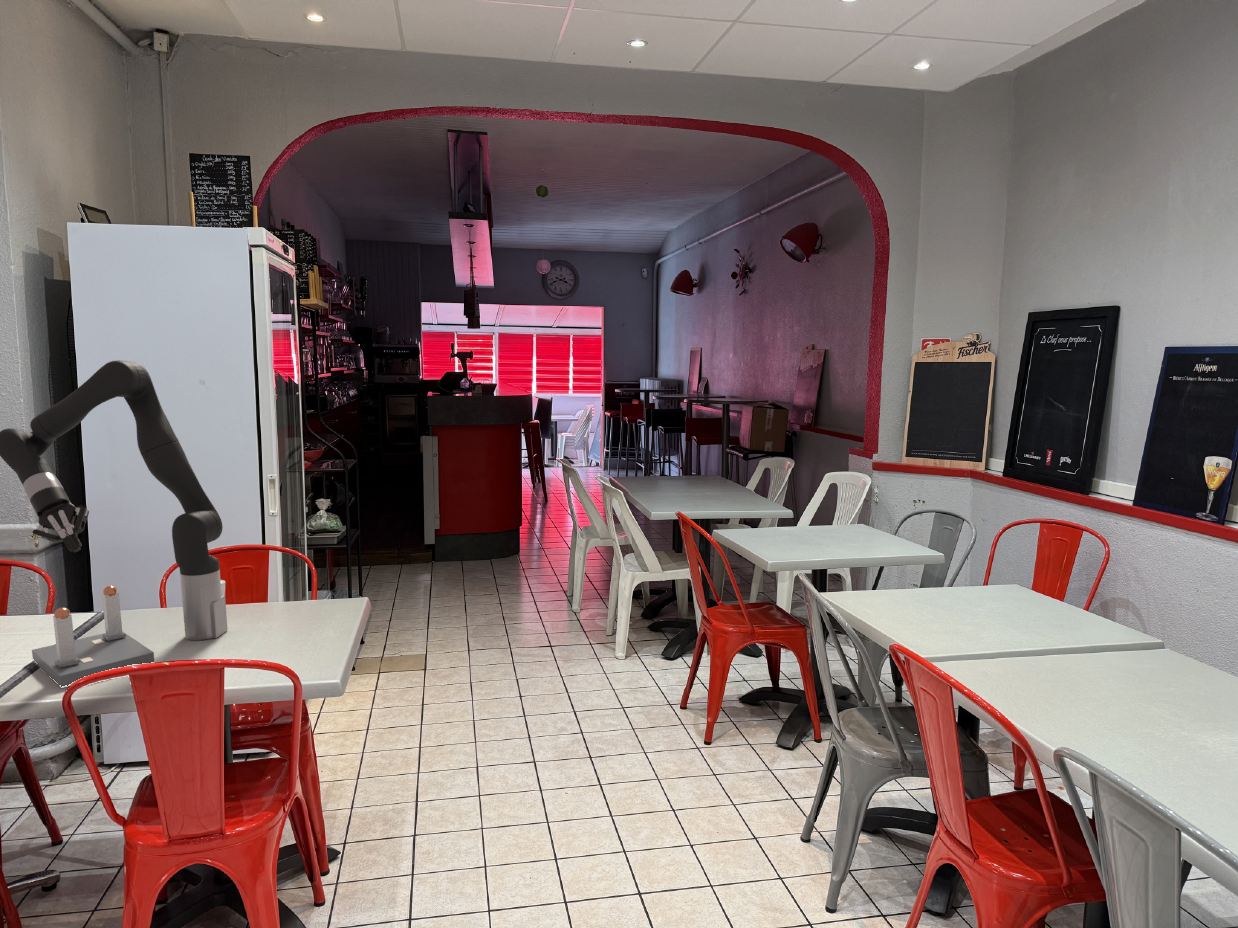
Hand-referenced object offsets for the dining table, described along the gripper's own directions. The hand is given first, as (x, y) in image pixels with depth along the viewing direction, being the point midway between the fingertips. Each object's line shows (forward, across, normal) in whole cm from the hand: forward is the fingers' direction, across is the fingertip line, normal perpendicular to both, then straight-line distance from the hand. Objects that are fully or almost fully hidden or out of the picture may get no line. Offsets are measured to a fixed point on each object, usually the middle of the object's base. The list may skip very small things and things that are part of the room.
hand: (76, 549), depth 200 cm
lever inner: (+20, -4, +12) cm, 24 cm away
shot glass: (+15, +16, +42) cm, 47 cm away
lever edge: (+26, -12, -3) cm, 29 cm away
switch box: (+26, -9, +6) cm, 28 cm away
